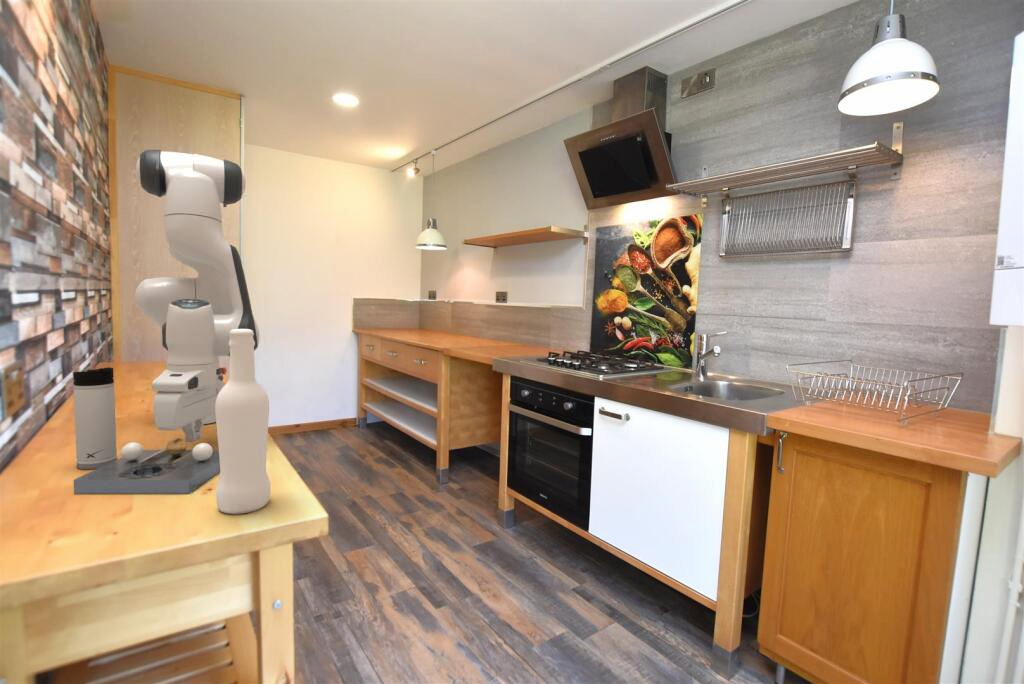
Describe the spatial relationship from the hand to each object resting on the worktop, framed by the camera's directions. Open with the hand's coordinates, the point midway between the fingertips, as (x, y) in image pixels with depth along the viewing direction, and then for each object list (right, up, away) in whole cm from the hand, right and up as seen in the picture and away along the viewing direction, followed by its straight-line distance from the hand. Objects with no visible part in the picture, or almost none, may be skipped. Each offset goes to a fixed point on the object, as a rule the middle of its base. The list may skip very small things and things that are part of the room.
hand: (193, 440), depth 106 cm
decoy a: (+7, -1, -8) cm, 11 cm away
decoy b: (-6, 0, -9) cm, 11 cm away
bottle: (+23, -7, -22) cm, 32 cm away
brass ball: (0, 0, -6) cm, 6 cm away
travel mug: (-16, -4, -5) cm, 17 cm away
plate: (+1, -5, -11) cm, 12 cm away
